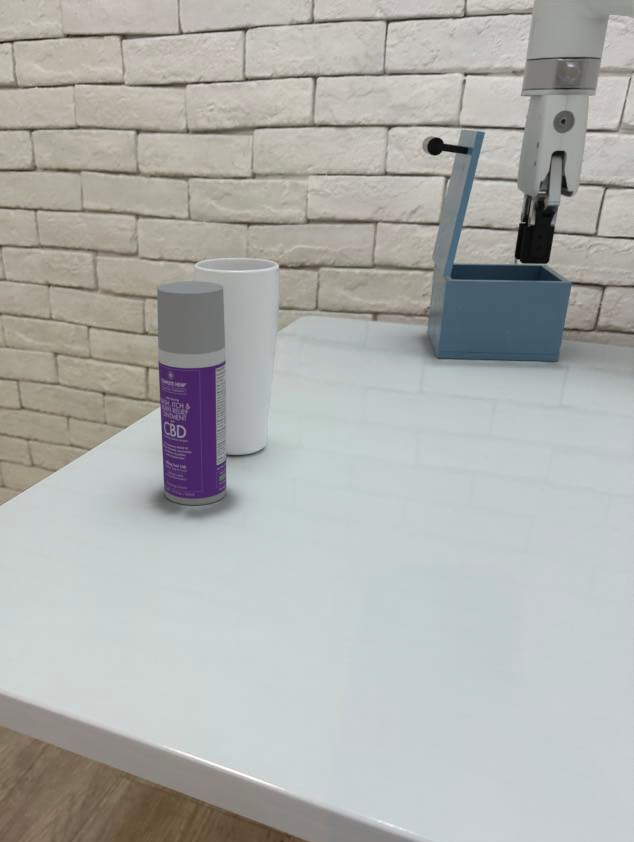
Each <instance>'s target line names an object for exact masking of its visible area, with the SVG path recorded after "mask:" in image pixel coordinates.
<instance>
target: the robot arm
mask: <svg viewBox="0 0 634 842" xmlns="http://www.w3.org/2000/svg"><path fill="white" fill-rule="evenodd" d="M532 6H533V7H532V14H531V21H530V27H529V34H528V42H527V49H526V57H525V64H524V71H523V79H522V86H521V91H520V97H530V98H529V103H528V108H527V114H526V116H525V119H526V120H525V124H524V131H523V136H522V141H521V142H522V143H521V149H520V155H519V162H518V169H517V170H518V171H517V183H516V184H517V189H518V190H519V191H520V192H522V193H523V199H522V200H523V201H522V207H521V213H520V222H519V224H518V231H517V236H516V243H515V249H514V259H516V260H519V262H520V264H537V265H547V264H548V263H550V261H551V260H550V259H551V255H552V254H551V253H552V247H553V242H554V237H555V236H554V235H555V230H556V223H557V217H558V211H559V207H560V205H561V196H564V197H568V198H572V197H574V196H575V195H577V193H578V192H579V188H580V181H581V174H582V167H583V159H584V153H585V145H586V138H587V129H588V119H589V105H590V104H589V103H590V96H596V93H597V86H598V82H599V81H598V80H599V77H600V70H601V64H602V57H603V53H604V46H605V41H606V36H607V30H608V25H609V18H610V16H620V17H621V16H622V17H629V18H631V19H634V0H533V5H532Z"/></svg>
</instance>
